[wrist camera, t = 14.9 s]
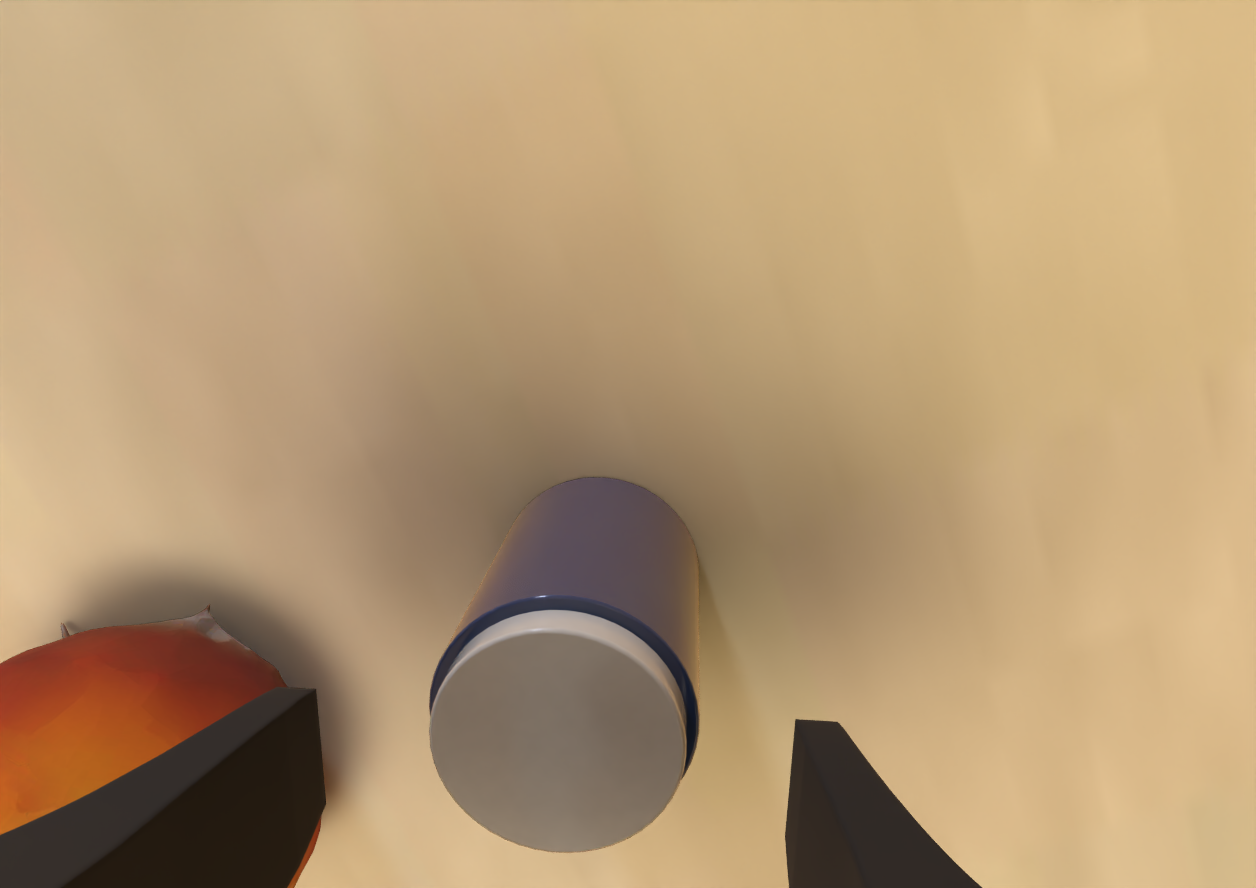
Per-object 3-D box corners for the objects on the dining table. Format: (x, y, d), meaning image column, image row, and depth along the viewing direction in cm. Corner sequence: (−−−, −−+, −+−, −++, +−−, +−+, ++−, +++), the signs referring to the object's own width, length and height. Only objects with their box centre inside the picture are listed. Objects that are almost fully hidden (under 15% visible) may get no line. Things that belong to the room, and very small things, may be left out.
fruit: (194, 479, 18) (67, 891, 13) (392, 657, 24) (363, 998, 18) (-119, 588, 20) (-357, 1005, 14) (137, 733, 25) (39, 1072, 20)
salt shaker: (592, 691, 21) (548, 909, 15) (462, 557, 20) (357, 727, 14) (739, 582, 20) (759, 767, 13) (607, 436, 19) (564, 560, 13)
